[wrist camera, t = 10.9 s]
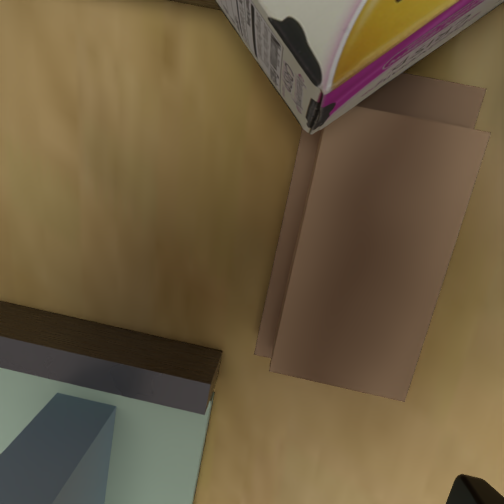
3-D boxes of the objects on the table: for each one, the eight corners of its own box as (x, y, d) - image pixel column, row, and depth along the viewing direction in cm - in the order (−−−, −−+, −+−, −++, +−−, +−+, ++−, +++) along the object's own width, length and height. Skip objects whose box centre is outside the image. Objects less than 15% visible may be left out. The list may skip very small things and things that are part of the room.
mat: (214, 392, 23) (211, 401, 22) (171, 617, 27) (167, 632, 27) (-20, 338, 24) (-30, 345, 23) (-28, 567, 28) (-37, 579, 27)
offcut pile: (467, 92, 19) (509, 84, 15) (386, 362, 22) (403, 413, 18) (316, 63, 19) (319, 47, 15) (258, 334, 22) (248, 378, 18)
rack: (295, -28, 18) (292, -82, 13) (216, 383, 23) (193, 451, 18) (-77, -96, 19) (-205, -170, 14) (-76, 316, 24) (-172, 364, 19)
